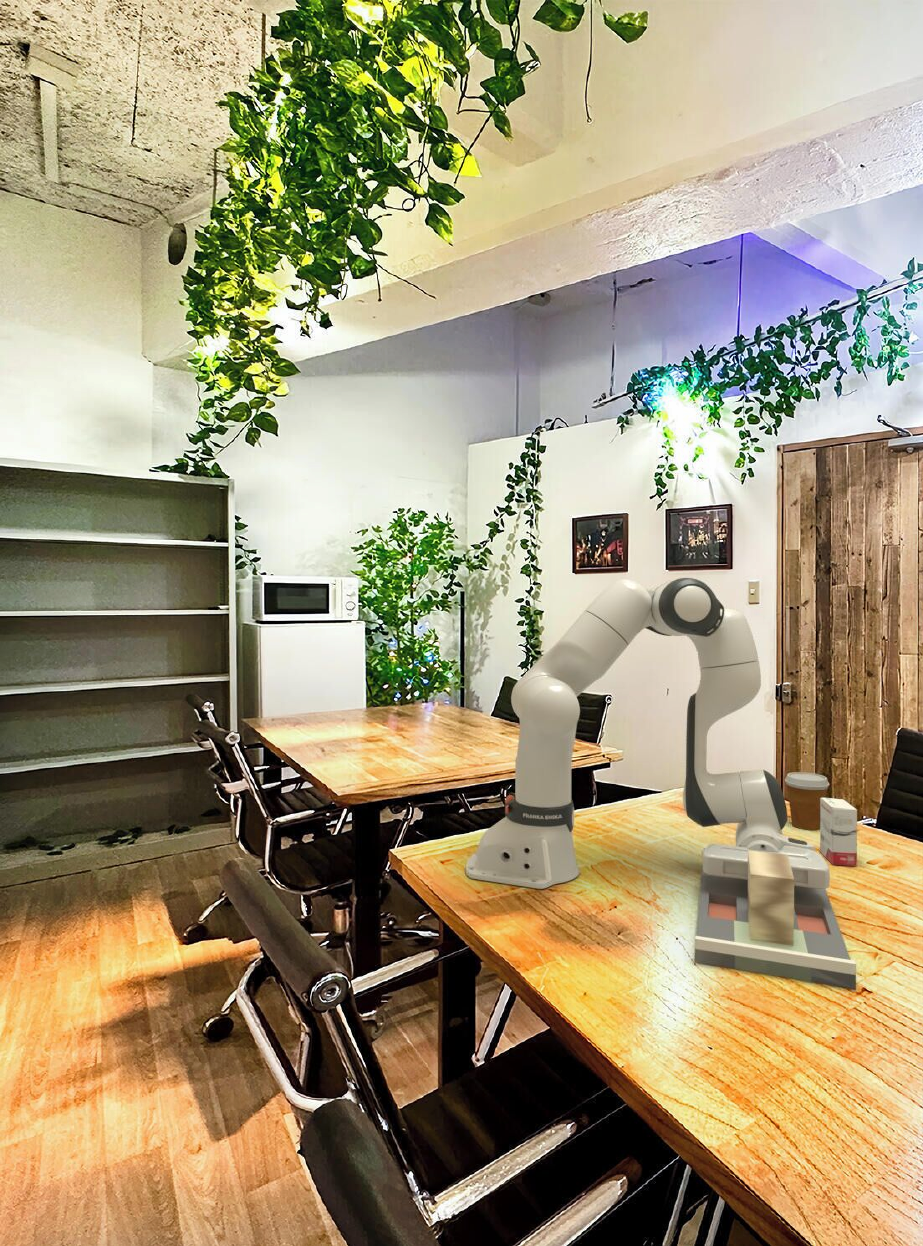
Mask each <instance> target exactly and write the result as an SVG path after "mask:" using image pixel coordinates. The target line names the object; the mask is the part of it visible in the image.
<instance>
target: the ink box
mask: <svg viewBox="0 0 923 1246" xmlns="http://www.w3.org/2000/svg"><path fill="white" fill-rule="evenodd" d="M819 831H820V832H819V841H820V842H819V845H820V846H819V851H820V854H822V856H824V857H825V858H826V859H827V860H828V862H829V863H830V864H831V865H833V866H848V867H849V866H850V867H857V863H858V852H857V851H858V850H857V849H858V847H857V846H858V842H857V840H858V809H857V808H855V806H852V804H850V803H849V802H847V801H846V800H845V799H840V798H832V797H831V798H830V797H826V798H820V829H819Z"/></svg>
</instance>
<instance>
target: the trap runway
mask: <svg viewBox="0 0 923 1246" xmlns="http://www.w3.org/2000/svg"><path fill="white" fill-rule="evenodd" d="M701 868H702V869H701V875H700V876H701V878H700V889H699V898H698V899H699V900H698V901H699V902H698V912H697V922H696V933H695V936H694V962H695V963H698V964H705V965H710V966H716V967H721V968H726V969H728V968H729V969H733V970H738V971H739V970H740V971H744V972H745V971H747V972H750V973H751V972H753V973H756V974H757V973H758V974H764V975H769V976H775V977H781V978H787V979H794V980H798V981H804V982H805V981H806V982H811V983H816V984H823V985H829V986H833V987H840V988H846V989H851V990H856V989H857V963H856V960H852V959H851V957H850V954H849V951H848V949H847V945H846V943H845V941H844V940H845V939H844V937H843V935H842V931H841V929H840V927H839V923H838V921H837V917H836V915H835V912H834V908H833V906H832V902H831V901H830V898H829V895H828V892H827V889H817V888H809V887H801V886H794V946H791V945H784V944H778V943H771V942H765V941H758V940H752V939H750V932H749V920H748V880H746V879H738V878H730V877H722V876H714V875H708V874H706V873H705V872H703V864H702V865H701Z"/></svg>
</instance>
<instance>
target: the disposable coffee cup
mask: <svg viewBox="0 0 923 1246" xmlns="http://www.w3.org/2000/svg"><path fill="white" fill-rule="evenodd" d="M784 781H785V783H786V786H787V794H788V802H789V803H788V804H789V810H790V811H789V812H790V819H791V820H790V821H791V825H792V826H793V827H794V828H797V829H800V830H805V831H806V830H807V831H818V830H819V831H820V798H827V791H828V788H829V786H830V782H829V781H828V778H827V777H826V776H825V775H821V774H818V773H814V772H813V773H812V772H801V771H800V772H797V771H796V772H789V773H787V775H786V777H785V779H784Z"/></svg>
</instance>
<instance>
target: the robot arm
mask: <svg viewBox="0 0 923 1246" xmlns="http://www.w3.org/2000/svg"><path fill="white" fill-rule="evenodd" d="M644 629H647V630H648V631H651V632H653V633H655V634H658V635H660V636H665V637H672V636H674V637H683V636H686V637H687V638H689V640H691V642H692V643H693V645H694V648H695V649H696V652H697V658H698V665H699V670H700V671H699V672H700V680H699V684H698V688H697V690H696V692H695V693H693V694H692V695H690V696H689V699H688V703H687V710H686V733H685V734H686V737H685V738H686V740H685V744H686V745H685V751H686V753H685V764H686V765H685V781H684V786H683V791H682V803H683V804H682V805H683V809H684V811H685V813H686V816H687V817H688V818H689V820H692V821H693V822H694V823H696V824H697V825H699V826H700V827H702V828H706V827H707V828H708V827H714V826H720V825H724V824H725V825H726V824H727V825H728V824H737V826H736V830H735V845H729V844H722V843H721V844H720V843H711V844H708V845H707V846H706V847H703V848H702V850H701V856H702V865H703V872H705V873H706V874H708V875H714V876H722V877H730V878H738V879H746V880H748V851H757V852H766V853H775V854H784V855H788V858H789V862H790V865H791V869H792V873H793V877H794V886H801V887H809V888H817V889H826V890H828V889H829V888H830V879H831V878H830V877H831V876H830V867H829V865H828V863H827V861H826V859H825V858H824V857H823V855H821V853H819V852H817V851H816V849H815V844H813V843H812V842H809V841H805V840H802V839H798V838H797V839H795V838H792V837H789V836H786V835H784V834H783V831H782V830H783V829H784V828H785V826H786V824H787V822H788V819H789V818H788V809H787V804H786V801H785V800H786V799H785V797H784V793H783V791H782V788H781V785H780V782H779V780H778V779H777V778H776V777H775V776H774V775H773V774H771V773H770V772H769V771H768V770H766V769H760V770H759V769H757V770H756V769H754V770H743V771H738V772H737V771H736V772H724V773H711V772H708V770H707V747H708V746H707V744H708V741H707V740H708V732H709V730H710V729H711V727H712V726H713V725H714V724H715V723H716V722H718V721H720V720H722V719H723V718H725V717H727V716H729V715H731V714H733V713H735V712H737V711H739V710H741V709H743V708H744V707H745V706H747V705H748V704H750V703H751V702H752V701H753V700H754V699H755V697H757V695H758V694H759V692H760V689H761V686H762V679H761V678H762V676H761V668H760V666H761V665H760V661H759V655H758V651H757V647H756V642H755V640H754V636H753V635H754V634H753V633H752V631H751V627H750V624H749V622H748V620H747V618H746V616H745V615H744V614H743V612H741V611H739V610H738V609H737V610H736V609H734V608H727V607H724V605H723V604H722V603H721V601H720V600H719V599H718V597H717V596H716V594H715V593H714V591H713V590H712V589H711V587H709V585H708V584H706V583H705V582H704V581H702V580H699V579H697V578H693V577H680V578H676V579H674V580H669V581H666V582H664V583H662V584H660V585H657V586H656V587H653V588H651V589H648V588H646V587H644V586H643V585H642V584H641V583H639V582H638V581H635V580H632V579H629V578H621V579H617V580H616V581H614V582H613V583H611V584H610V585H609V586H608V587H606V589H604V590H603V591H602V592H601V593H600V594H599V595H597V596H596V598H595V599H594V600H593V601H591V603H589V605H588V606H587V607H586V608H585V609H584V610H583V612H582V613H581V614H580V616H579V617H578V618H577V619H576V620H575V621H574V622H573V624H572V625H571V626H570V627H569V628H568V630H567V631H566V632H565V633H564V634H563V636H562V637H560V639H559V640H558V641H557V642H556V643H555V644H554V646H552V647H551V648H550V649H549V650H548V651H547V652H546V653H545V654H543V656H542V657H540V658H539V659H538V660H537V661H536V662H535V663H534V664H533V666H531V667H530V669H528V671H526V673H525V674H524V675H523V676H521V678H520V679H518V680H517V682H516V683H515V684H514V686H513V688H512V691H511V696H510V699H511V701H510V703H511V706H512V707H511V708H512V709H513V712H514V713H515V715H516V716H517V717H518V718H519V719H518V720H519V734H518V735H519V736H518V743H517V744H518V745H517V751H516V757H515V765H514V766H515V770H514V771H515V790H514V791H515V795H512V794H509V795H507V797H506V799H505V800H504V803H505V804H504V815H505V817H503V818H502V819H501V820H499V821H498V822H496V823H495V824H493V825H492V826H491V827H489V828H488V829H487V830H485V832H484V833H483V834H481V837H480V839H479V843H478V845H477V851H476V852H474V853H473V854H471V855H470V856H469V857H468V859H467V860H466V863H465V864H466V865H465V873H466V876H468V877H469V878H470V879H473V880H474V879H475V880H480V881H486V882H492V883H500V884H506V885H512V886H519V887H525V888H532V889H539V890H541V889H543V890H544V889H546V888H547V889H548V887H551V886H553V885H557V884H562V883H563V884H564V883H566V882H569V881H572V880H574V879H576V878H577V877H578V876H579V874H580V868H579V865H578V861H577V857H576V851H575V845H574V837H573V830H574V827H575V807H574V801H573V799H572V764H573V763H572V761H573V753H574V752H573V751H574V746H575V740H576V734H577V726H578V722H579V719H580V715H581V714H580V713H581V709H580V703H579V700H578V698H577V697H579V695H581V694H582V693H583V692H584V691H585V690H586V689H588V688H589V687H590V686H591V685H592V684H594V683H595V682H596V681H598V680H600V679H601V678H602V677H604V675H605V674H606V673H607V672H608V671H609V669H610V668H611V667H612V666H613V664H614V663H615V662H616V661H617V659H619V657H620V656H621V655H622V654H623V653H624V651H625V650H626V649H627V648H628V647H629V645H630V644H631V643H632V641H633V640H635V637H636V636H637V635H638V634H639V633H641V632H642V631H643V630H644Z"/></svg>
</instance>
